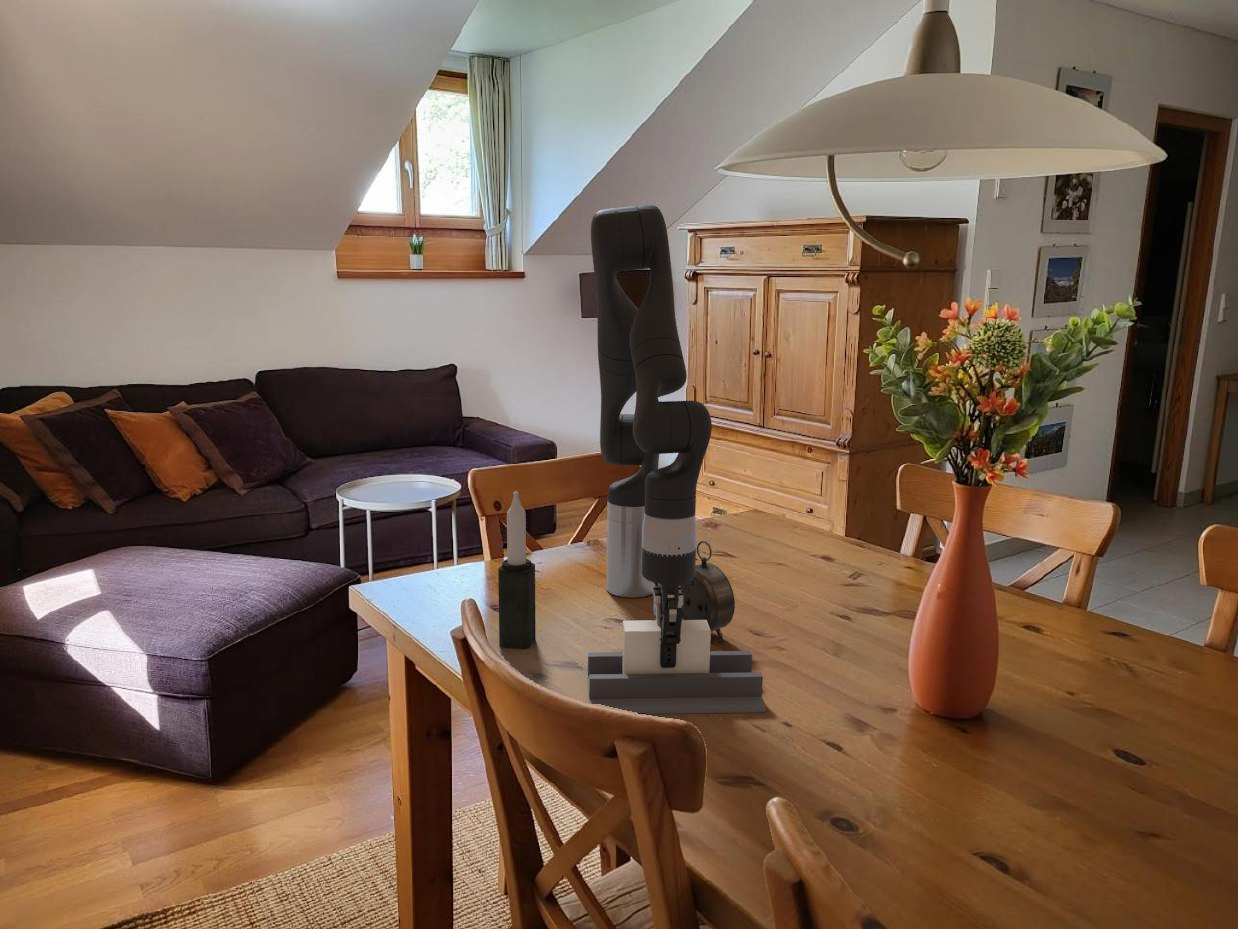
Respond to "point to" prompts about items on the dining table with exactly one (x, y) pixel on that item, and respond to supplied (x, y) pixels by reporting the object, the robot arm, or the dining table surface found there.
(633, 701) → the door track
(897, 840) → the dining table surface
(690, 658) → the white rectangular block
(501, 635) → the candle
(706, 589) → the alarm clock
